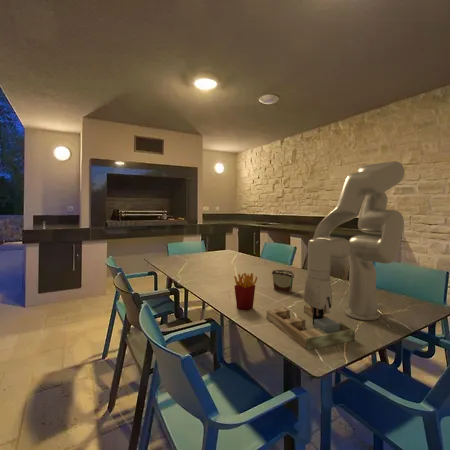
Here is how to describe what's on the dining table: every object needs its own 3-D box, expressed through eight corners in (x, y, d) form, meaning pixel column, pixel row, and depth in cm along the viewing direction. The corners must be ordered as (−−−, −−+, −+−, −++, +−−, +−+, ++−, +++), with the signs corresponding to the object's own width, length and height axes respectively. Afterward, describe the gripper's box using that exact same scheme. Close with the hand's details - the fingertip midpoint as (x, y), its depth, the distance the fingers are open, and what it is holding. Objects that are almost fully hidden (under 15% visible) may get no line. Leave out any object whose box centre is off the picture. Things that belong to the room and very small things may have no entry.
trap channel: (305, 312, 116) (306, 303, 116) (354, 340, 91) (354, 329, 91) (266, 318, 110) (266, 308, 110) (307, 349, 85) (307, 338, 85)
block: (328, 330, 99) (328, 317, 99) (339, 336, 94) (339, 323, 94) (313, 332, 97) (313, 319, 97) (324, 339, 92) (324, 326, 92)
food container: (298, 291, 144) (299, 272, 143) (292, 294, 139) (292, 274, 139) (278, 286, 152) (278, 268, 151) (271, 289, 148) (271, 270, 147)
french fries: (246, 312, 116) (246, 276, 115) (231, 307, 121) (230, 273, 120) (258, 306, 122) (258, 272, 121) (243, 302, 128) (243, 269, 127)
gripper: (297, 270, 105) (296, 318, 106) (323, 280, 91) (322, 335, 92) (314, 268, 107) (313, 316, 109) (342, 278, 93) (341, 332, 95)
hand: (317, 325), depth 100 cm, fingers closed
